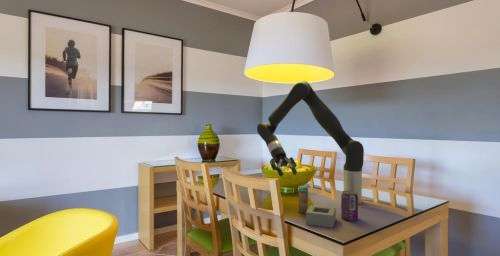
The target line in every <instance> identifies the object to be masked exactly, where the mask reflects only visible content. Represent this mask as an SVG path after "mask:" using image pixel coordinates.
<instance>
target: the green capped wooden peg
mask: <svg viewBox="0 0 500 256" xmlns="http://www.w3.org/2000/svg"><path fill="white" fill-rule="evenodd" d="M308 209H309V187H308V186H305V185H299V186H298V213H299V212H300V214H306V211H307V210H308Z"/></svg>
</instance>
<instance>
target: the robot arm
mask: <svg viewBox="0 0 500 256" xmlns="http://www.w3.org/2000/svg"><path fill="white" fill-rule="evenodd" d="M302 100H303V102H304V103H305V104H306V105H307V106H308V108H309V110H310V111H311V113H312V116H313V118H314V119H315V121H317V123H318V124H319V125H320V127H321V128H322V129H324V131H325V132H326V133H327V135H329V136H330V137H331V138H332V139H333V140H334V141H335V143H336V145H337V146H338V147H339V148H340V150H341V151H342V153H343V154H344V155H345V163H344V164H343V191H346V190H349V191H355V192H357V195H358V205H361V204H362V200H363V196H362V195H363V191H362V190H363V167H364V161H365V160H364V156H365V155H364V154H365V149H364V145H363V144H362V143H361V142H360V141H359V140H354V139H353V138H352V137H351V136H350V135H348V133H347V132H346V131H345V130H344V128H343V126H342V124H341V122H340V120H339V118H338V117H337V116H336V115H335V114H334V112H333V111H332V110H331V109H330V108H329V107H328V105H327V104H326V103H325V102H324V101H323V99H321V98H320V97H319V95H317V93H316V92H315V91H314V88H313V87H312V86H311V85H310V83H309V82H308V81H307V80H301V79H300V80H297V81H296V82H295V83H294V84H292V87H291V89H290V91H289V92H288V94H287V95H286V97H285V98H284V100H283V101H282V102H281V103H280V104H279V105H278V106H277V107H276V108H275V109H274V110H273V111H272V112H271V113H270V115H269V116H268V118H267V120H268V122H269V123H267V122H260V123H258V124H257V127H256V130H257V133H258V135H259V137H260V138H261V140H263V141H264V142H265V144H266V147H267V148H268V151H269V153H270V154H269V155H270V156H271V157H272V158H270V161H269V164H270V167H271V169H272V170H273V171H276V172H277V174H278V176H279V177H280V178H282V177H283V176H284V172H283V170H282V168H283V167H286V168H287V169H290V170H291V172H292V174H293V176H296V175H297V173H298V171H297V169H296V167H297V166H298V164H297V163H296V161H295V158H293V156H291V157H289V158H288V157H287V153H286V151H285V150H284V147H283V146H282V144H281V142H280V141H279V139H278V137H277V135H275V132H276V130H277V128H278V126H279V124H280V123H281V122H282V121H283V120H284V119H285V117H286V116H287V115H288V114H289V112H290V111H291V110H292V109H293V108H294V107H295V106H296V105H297V104H299V102H300V101H302Z"/></svg>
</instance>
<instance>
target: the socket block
mask: <svg viewBox="0 0 500 256" xmlns="http://www.w3.org/2000/svg"><path fill="white" fill-rule="evenodd" d="M336 210H337V208H336V207H331V206H330V207H329V206H321V205H312V204H310V206H308V210H307V211H306V213H305V224H306V225H309V224H311V225H310V226H317V225H318V226H319V227H325V228H331V227H332V229H333V228H334V225H335V222H336V218H337V217H336V216H337V213H336ZM318 226H317V227H318Z"/></svg>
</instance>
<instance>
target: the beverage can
mask: <svg viewBox="0 0 500 256" xmlns="http://www.w3.org/2000/svg"><path fill="white" fill-rule="evenodd" d="M340 198H341V199H340V201H341V203H340V216H341V218H342V219H344V220H346V221H351V222H353V221H356V220H358V219H359V204H358V195H357V192H355V191H349V190H346V191H344V190H342V193H341V197H340Z"/></svg>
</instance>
